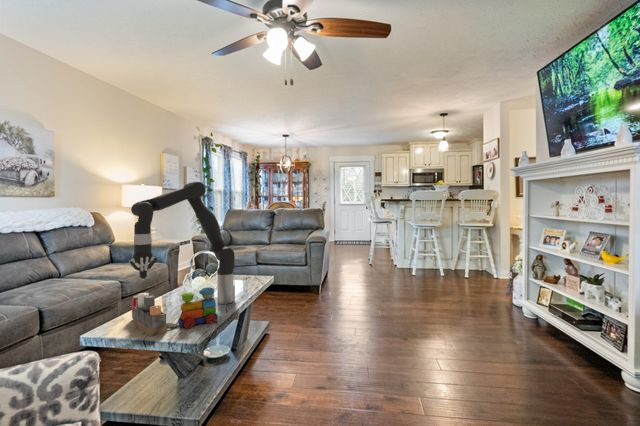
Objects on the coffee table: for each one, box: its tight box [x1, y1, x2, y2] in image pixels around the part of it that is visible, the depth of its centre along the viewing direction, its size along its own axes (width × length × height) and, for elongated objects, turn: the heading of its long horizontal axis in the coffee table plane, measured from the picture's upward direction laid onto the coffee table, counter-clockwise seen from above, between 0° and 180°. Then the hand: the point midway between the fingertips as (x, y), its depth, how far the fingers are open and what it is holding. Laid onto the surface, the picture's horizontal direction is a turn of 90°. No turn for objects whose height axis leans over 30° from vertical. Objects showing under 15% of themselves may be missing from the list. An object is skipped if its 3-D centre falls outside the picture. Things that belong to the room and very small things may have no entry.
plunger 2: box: [150, 304, 162, 317], centre depth 145 cm, size 5×5×7 cm
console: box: [133, 306, 168, 337], centre depth 150 cm, size 7×22×8 cm, turn 48°
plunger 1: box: [137, 292, 150, 309], centre depth 155 cm, size 5×5×7 cm
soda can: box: [131, 294, 138, 321], centre depth 162 cm, size 7×7×12 cm
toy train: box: [166, 287, 218, 330], centre depth 154 cm, size 12×29×17 cm, turn 125°
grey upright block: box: [144, 295, 156, 313], centre depth 150 cm, size 5×5×7 cm
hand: (143, 278), depth 155 cm, fingers closed
